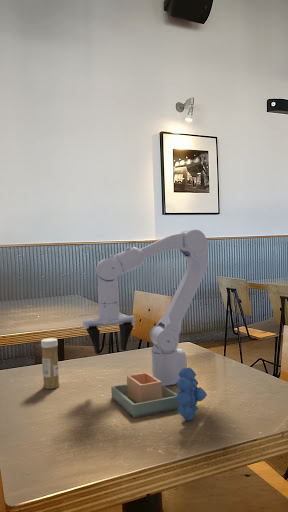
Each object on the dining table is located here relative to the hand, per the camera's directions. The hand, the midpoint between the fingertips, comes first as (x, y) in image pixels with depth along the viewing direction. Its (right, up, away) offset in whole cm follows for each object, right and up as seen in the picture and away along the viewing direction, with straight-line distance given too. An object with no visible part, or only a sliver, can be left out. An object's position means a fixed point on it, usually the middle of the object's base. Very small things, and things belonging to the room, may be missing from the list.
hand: (110, 351), depth 123 cm
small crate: (+9, -9, -13) cm, 19 cm away
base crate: (+9, -10, -13) cm, 19 cm away
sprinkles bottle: (-17, -11, +3) cm, 20 cm away
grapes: (+20, -10, -25) cm, 34 cm away
